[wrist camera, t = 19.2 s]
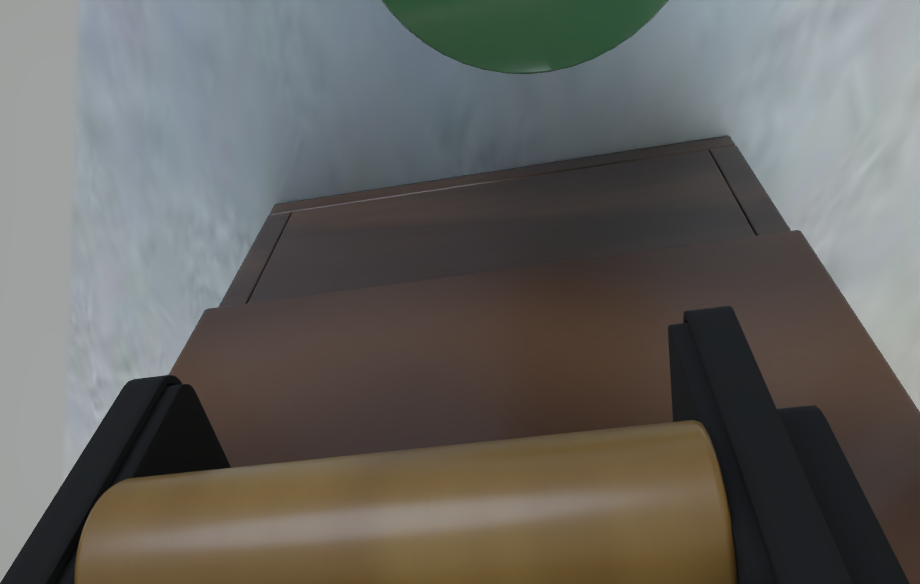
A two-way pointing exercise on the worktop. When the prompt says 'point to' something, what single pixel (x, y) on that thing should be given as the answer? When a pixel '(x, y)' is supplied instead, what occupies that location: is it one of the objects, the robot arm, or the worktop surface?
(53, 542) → the robot arm
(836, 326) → the lid
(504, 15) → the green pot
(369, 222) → the chest
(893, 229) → the worktop surface
